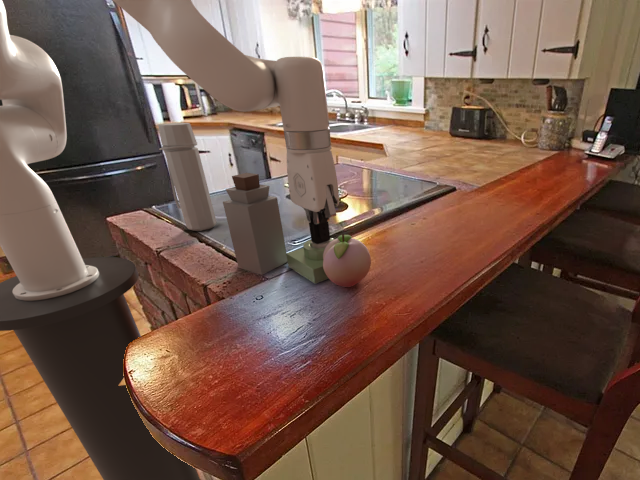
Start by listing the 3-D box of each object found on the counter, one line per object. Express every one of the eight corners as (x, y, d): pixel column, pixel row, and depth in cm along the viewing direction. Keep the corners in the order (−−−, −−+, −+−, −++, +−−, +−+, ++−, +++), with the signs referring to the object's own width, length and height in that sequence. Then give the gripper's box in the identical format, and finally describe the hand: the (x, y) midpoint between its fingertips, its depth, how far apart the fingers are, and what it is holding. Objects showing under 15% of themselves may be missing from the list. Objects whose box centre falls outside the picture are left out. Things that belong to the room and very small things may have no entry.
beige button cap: (308, 250, 70) (307, 241, 69) (324, 245, 73) (323, 236, 72) (318, 256, 68) (317, 246, 67) (334, 250, 70) (333, 241, 69)
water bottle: (224, 222, 96) (199, 122, 85) (205, 233, 90) (175, 125, 78) (193, 221, 98) (165, 122, 87) (172, 231, 91) (139, 125, 80)
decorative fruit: (375, 297, 61) (372, 242, 57) (326, 302, 60) (319, 247, 56) (369, 272, 70) (366, 223, 65) (326, 276, 68) (320, 226, 64)
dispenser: (288, 266, 72) (284, 243, 70) (330, 252, 78) (327, 230, 76) (315, 284, 66) (311, 259, 63) (358, 266, 72) (357, 243, 69)
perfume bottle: (265, 255, 77) (248, 170, 69) (287, 261, 74) (272, 173, 66) (238, 267, 72) (216, 177, 64) (261, 275, 69) (242, 181, 61)
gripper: (267, 139, 64) (284, 236, 72) (312, 148, 54) (326, 258, 62) (305, 135, 68) (316, 227, 77) (352, 142, 59) (360, 246, 67)
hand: (321, 240), depth 69 cm, fingers closed
